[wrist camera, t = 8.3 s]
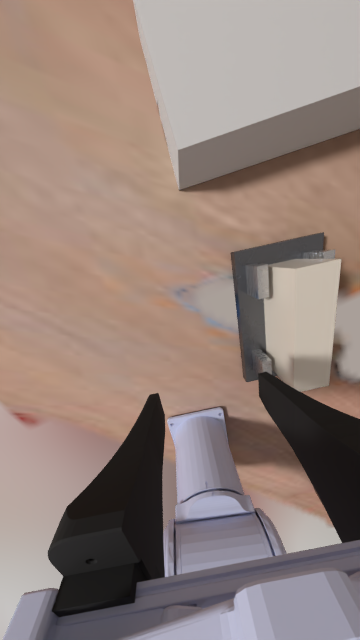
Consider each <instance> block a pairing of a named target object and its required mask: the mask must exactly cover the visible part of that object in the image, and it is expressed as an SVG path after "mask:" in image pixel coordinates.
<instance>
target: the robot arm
mask: <svg viewBox="0 0 360 640" xmlns="http://www.w3.org/2000/svg"><path fill="white" fill-rule="evenodd" d="M258 379H259V397H260V398H261V400H262V402H263V404H264V406H265V408H266V410H267V411H268V413H269V414H270V416H271V417H272V419H273V420H274V422H275V423H276V425H277V426H278V428H279V429H280V431H281V432H282V434H283V435H284V437H285V438H286V439H287V441H288V442H289V444H290V446H291V447H292V449H293V450H294V452H295V454H296V456H297V457H298V459H299V461H300V463H301V464H302V466H303V468H304V470H305V472H306V473H307V475H308V477H309V479H310V481H311V483H312V484H313V486H314V488H315V490H316V492H317V494H318V496H319V498H320V500H321V502H322V504H323V505H324V507H325V509H326V511H327V513H328V515H329V517H330V519H331V521H332V523H333V525H334V527H335V529H336V531H337V533H338V535H339V537H340V539H341V541H342V543H341V544H335V545H331V546H325V547H320V548H315V549H309V550H305V551H299V552H294V553H288V554H286V551H285V548H284V546H283V543H282V541H281V539H280V536H279V534H278V532H277V530H276V528H275V527H274V524H273V523H272V521H271V520H270V519H269V517H268V516H267V515H266V514H265V513H264V512H263V511H262V510H261V509H260V508H254V507H253V504H252V501H251V498H250V496H249V495H244V492H243V488H242V485H241V482H240V479H239V476H238V473H237V470H236V467H235V463H234V460H233V457H232V454H231V451H230V448H229V443H228V437H227V431H226V425H225V419H224V412H223V409H222V408H221V407H218V408H213V409H208V410H203V411H199V412H194V413H189V414H184V415H180V416H175V417H170V418H168V425H169V429H170V432H171V435H172V438H173V441H174V445H175V448H176V475H177V502H178V504H176V507H175V508H176V521H175V519H171V520H169V521H168V525H167V526H166V528H165V530H164V533H163V513H162V511H163V508H162V507H163V506H162V466H163V453H164V439H165V414H164V411H163V408H162V404H161V401H160V397H159V394H158V393H156V394H151V395H149V397H148V399H147V401H146V403H145V405H144V408H143V410H142V412H141V413H140V415H139V417H138V419H137V421H136V423H135V424H134V426H133V428H132V429H131V431H130V433H129V434H128V436H127V438H126V439H125V441H124V442H123V444H122V445H121V446H120V448H119V449H118V451H117V452H116V453H115V455H114V456H113V457H112V459H111V460H110V461H109V463H108V464H107V465H106V466H105V467H104V469H103V470H102V471H101V472H100V473H99V474H98V476H97V477H96V478H95V479H94V480H93V481H92V482H91V483H90V484H89V486H87V488H86V489H85V490H84V491H83V492H82V493H81V494H80V495H79V496H78V497H77V498H76V499H75V500H74V501H73V502H72V503H71V504H69V505H68V506H67V508H66V510H65V512H64V514H63V517H62V519H61V521H60V523H59V526H58V528H57V531H56V533H55V535H54V538H53V540H52V543H51V545H50V548H49V550H48V558H49V560H50V562H51V563H52V564H53V566H55V568H56V569H57V570H58V571H59V572H60V573H61V574H62V575H63V579H62V582H61V585H60V588H59V590H58V589H55V588H48V589H43V590H38V591H32V592H28V593H24V594H23V595H22V596H21V599H20V601H19V603H18V605H17V608H16V610H15V612H14V615H13V617H12V619H11V621H10V624H9V626H8V628H7V631H6V633H5V635H4V637H3V640H360V419H358V418H355V417H353V416H350V415H348V414H345V413H343V412H340V411H338V410H336V409H333V408H331V407H329V406H327V405H325V404H322V403H320V402H318V401H316V400H314V399H312V398H310V397H309V396H307V395H305V394H303V393H301V392H299V391H298V390H296V389H294V388H292V387H291V386H289V385H287V384H286V383H284V382H283V381H281V380H279V379H278V378H276V377H275V376H273V375H271V374H270V373H268V372H263V373H258ZM219 413H220V414H219ZM171 423H173V424H171Z"/></svg>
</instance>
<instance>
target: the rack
mask: <svg viewBox="0 0 360 640" xmlns="http://www.w3.org/2000/svg"><path fill="white" fill-rule="evenodd" d="M323 240H324V232H323V233H318V234H313V235H308V236H304V237H299V238H295V239H290V240H286V241H281V242H276V243H272V244H267V245H263V246H258V247H254V248H249V249H245V250H240V251H236V252H231V260H232V270H233V280H234V289H235V298H236V309H237V319H238V329H239V338H240V348H241V358H242V368H243V377H244V379H245V380H246V382H250V381H255V380H259V379H258V373H263V372H268V373H270V374H271V375H273V376H277V375H276V374H275V372H274V371H273V370H272V362H271V359H270V358H269V357H268V356H267V355H266V334H265V313H264V298H267V297H269V278H268V265H270V264H275V263H279V262H284V261H288V260H293V259H335V249H334V250H323Z"/></svg>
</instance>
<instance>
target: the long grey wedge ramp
mask: <svg viewBox="0 0 360 640" xmlns="http://www.w3.org/2000/svg"><path fill="white" fill-rule="evenodd" d="M133 2H134V8H135V14H136V19H137V25H138V30H139V36H140V41H141V44H142V48H143V52H144V56H145V59H146V63H147V67H148V72H149V76H150V80H151V83H152V87H153V91H154V95H155V99H156V103H157V104H158V106H159V113H160V118H161V122H162V125H163V128H164V132H165V136H166V141H167V145H168V150H169V153H170V157H171V161H172V165H173V169H174V173H175V177H176V181H177V185H178V189H179V190H181V189H184V188H187V187H190V186H193V185H196V184H199V183H202V182H205V181H208V180H211V179H214V178H217V177H220V176H223V175H226V174H229V173H232V172H235V171H238V170H241V169H244V168H247V167H249V166H252V165H255V164H258V163H261V162H264V161H267V160H270V159H273V158H276V157H279V156H282V155H284V154H287V153H290V152H293V151H296V150H299V149H302V148H305V147H308V146H311V145H314V144H317V143H320V142H323V141H326V140H329V139H331V138H334V137H337V136H340V135H343V134H346V133H349V132H352V131H355V130H358V129H360V0H133Z"/></svg>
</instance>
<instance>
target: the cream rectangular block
mask: <svg viewBox="0 0 360 640" xmlns="http://www.w3.org/2000/svg"><path fill="white" fill-rule="evenodd" d="M340 268H341V259H293V260H288V261H284V262H279V263H275V264H270V265H268V278H269V297H267V298H264V313H265V334H266V355H267V356H268V357H269V358H270V359H271V362H272V370H273V371H274V372H275V374H276V375H277V376H278V377H279V378H280V379H281V380H282V381H283V382H284V383H286V384H287V385H289V386H291V387H292V388H294V389H296V390H298V391H299V392H301V391H306V390H311V389H316V388H320V387H325V386H329V380H330V370H331V359H332V349H333V339H334V329H335V318H336V309H337V298H338V288H339V278H340Z"/></svg>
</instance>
